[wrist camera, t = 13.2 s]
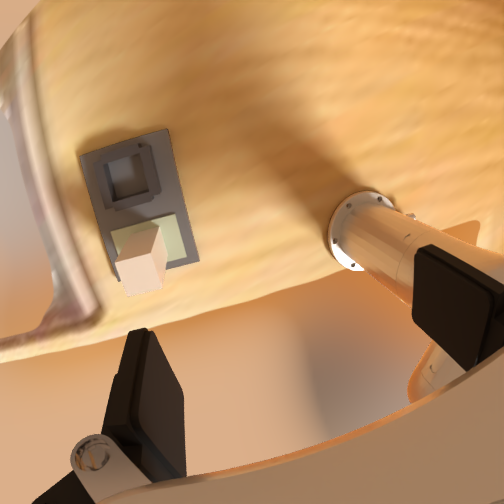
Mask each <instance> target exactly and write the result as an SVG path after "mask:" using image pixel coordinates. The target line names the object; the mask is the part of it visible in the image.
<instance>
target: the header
mask: <svg viewBox="0 0 504 504" xmlns="http://www.w3.org/2000/svg"><path fill="white" fill-rule="evenodd" d="M80 160H81V164H82V169H83V173H84V176H85V180H86V184H87V188H88V191H89V195H90V199H91V202H92V205H93V209H94V212H95V215H96V219H97V222H98V225H99V228H100V231H101V234H102V237H103V240H104V243H105V246H106V249H107V252H108V255H109V258H110V261H111V263H112V266H113V269H114V272H115V274H116V277H117V279H118V282H120V281H121V279H120V277H119V274H118V271H117V268H116V266H115V261H116V259H117V257H118V255H119V254H120V252H121V250H122V248H123V247H124V245H125V243H126V241H127V240H128V238H129V236H130V235H131V234H132V233H136V232H140V231H143V230H147V229H151V228H154V227H158V226H160V229H161V233H162V236H163V240H164V243H165V247H166V250H167V253H168V257H167V263H166V269H165V270H167V269H171V268H175V267H179V266H183V265H187V264H191V263H195V262H199V261H200V259H199V255H198V251H197V248H196V244H195V240H194V236H193V233H192V229H191V225H190V221H189V217H188V213H187V209H186V205H185V201H184V197H183V193H182V189H181V185H180V181H179V177H178V172H177V168H176V164H175V159H174V155H173V151H172V146H171V142H170V137H169V132H168V129H164V130H161V131H157V132H153V133H150V134H146V135H143V136H139V137H136V138H133V139H129V140H126V141H123V142H120V143H116V144H113V145H110V146H107V147H104V148H101V149H99V150H96V151H93V152H90V153H87V154H84V155H82V156H80Z"/></svg>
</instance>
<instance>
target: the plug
mask: <svg viewBox="0 0 504 504" xmlns="http://www.w3.org/2000/svg"><path fill="white" fill-rule="evenodd" d="M167 257H168V253H167V250H166V247H165V243H164V240H163V236H162V233H161V229H160V226H158V227H154V228H151V229H147V230H143V231H140V232H136V233H132V234H131V235H130V236H129V238H128V240H127V241H126V243H125V245H124V247H123V248H122V250H121V252H120V254H119V255H118V257H117V259H116V261H115V266H116V268H117V271H118V274H119V277H120V279H121V282H122V284H123V287H124V290H125V292H126V295H127V297H130V296H134V295H138V294H142V293H146V292H150V291H154V290H158V289H162V288H163V282H164V275H165V269H166V263H167Z"/></svg>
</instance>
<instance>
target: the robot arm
mask: <svg viewBox="0 0 504 504" xmlns="http://www.w3.org/2000/svg"><path fill="white" fill-rule="evenodd" d="M346 205H347V206H346ZM415 219H416V218H415V215H414V214H413V213H411V214H407V215H404V214H402V213H399V212H397V211H396V210H395V208H394V206H393V204H392V203H391V202H390V201H389V200H388V198H386V197H385V196H383V195H381V194H379V193H376V192H372V191H361V192H357V193H355V194H352V195H350V196H349V197H347V198H346V199H345V200H344V201H343V202H342V203H341V204H340V205H339V206H338V207H337V209H336V210H335V212H334V214H333V216H332V218H331V220H330V224H329V228H328V244H329V248H330V251H331V253H332V255H333V256H334V258H335V259H336V260H337V261H338V262H339V263H340V264H341V265H343V266H344V267H346V268H348V269H351V270H358V271H359V270H365V271H366V272H367V273H369V274H370V275H371V276H372V277H374V278H375V279H376V280H377V281H378V282H380V283H381V284H382V285H383V286H385V287H386V288H387V289H388V290H390V291H391V292H392V293H393V294H394V295H395V296H397V297H398V298H399V299H400V300H401V301H403V302H404V303H405V304H406V305H407V306H409V307H410V308H411V309H412V319H413V321H414V322H415V324H417V325H418V326H419V327H420V328H421V329H422V330H423V331H424V332H425V333H426V334H427V335H428V336H430V338H432V341H431V342H430V344H429V345H428V347H427V349H426V351H425V352H424V354H423V356H422V357H421V359H420V361H419V362H418V364H417V366H416V367H415V369H414V371H413V373H412V375H411V377H410V379H409V382H408V386H407V395H408V399H409V402H410V403H411V405H408V406H407V407H404V408H403V409H400V410H398V411H396V412H394V413H392V414H390V415H388V416H386V417H384V418H382V419H379V420H377V421H375V422H373V423H370V424H368V425H366V426H364V427H361V428H359V429H357V430H354V431H351V432H349V433H347V434H344V435H341V436H339V437H336V438H334V439H331V440H328V441H325V442H322V443H320V444H317V445H314V446H311V447H308V448H305V449H302V450H299V451H295V452H292V453H289V454H285V455H282V456H278V457H275V458H271V459H268V460H264V461H260V462H256V463H252V464H248V465H243V466H239V467H236V468H230V469H226V470H221V471H216V472H211V473H205V474H199V475H193V476H188V477H186V476H187V475H186V474H187V472H186V454H185V429H184V395H183V391H182V388H181V386H180V384H179V382H178V380H177V378H176V376H175V374H174V372H173V371H172V369H171V367H170V365H169V362H168V361H167V359H166V356H165V354H164V352H163V350H162V348H161V346H160V344H159V342H158V340H157V337H156V335H155V333H154V332H153V331H148V330H147V328H141V329H137V330H133V331H129V333H128V336H127V339H126V343H125V347H124V351H123V354H122V358H121V362H120V366H119V370H118V373H117V374H116V375H115V376H114V379H113V383H112V387H111V392H110V395H109V400H108V404H107V408H106V413H105V417H104V422H103V427H102V431H101V434H94V435H90V436H87V437H85V438H83V439H82V440H81V441H80V442H78V443H77V444H76V446H75V447H74V449H73V450H72V453H71V458H70V461H71V465H72V468H73V471H71V472H70V473H69V474H67V475H66V476H65V477H64V478H62V479H61V480H60V481H59V482H57V483H56V484H55V485H54V486H52V487H51V488H50V489H49V490H47V491H46V492H44V493H43V494H42V495H41V496H39V497H38V498H37V499H35V501H34V502H33V503H32V504H504V255H503V254H499V253H496V252H492V251H489V250H486V249H482V248H480V247H477V246H474V245H471V244H469V243H467V242H464V241H462V240H459V239H457V238H455V237H453V236H451V235H448V234H446V233H444V232H442V231H440V230H438V229H435V228H433V227H431V226H429V225H427V224H424V223H422V222H420V221H418V220H415ZM333 239H334V240H333Z"/></svg>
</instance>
